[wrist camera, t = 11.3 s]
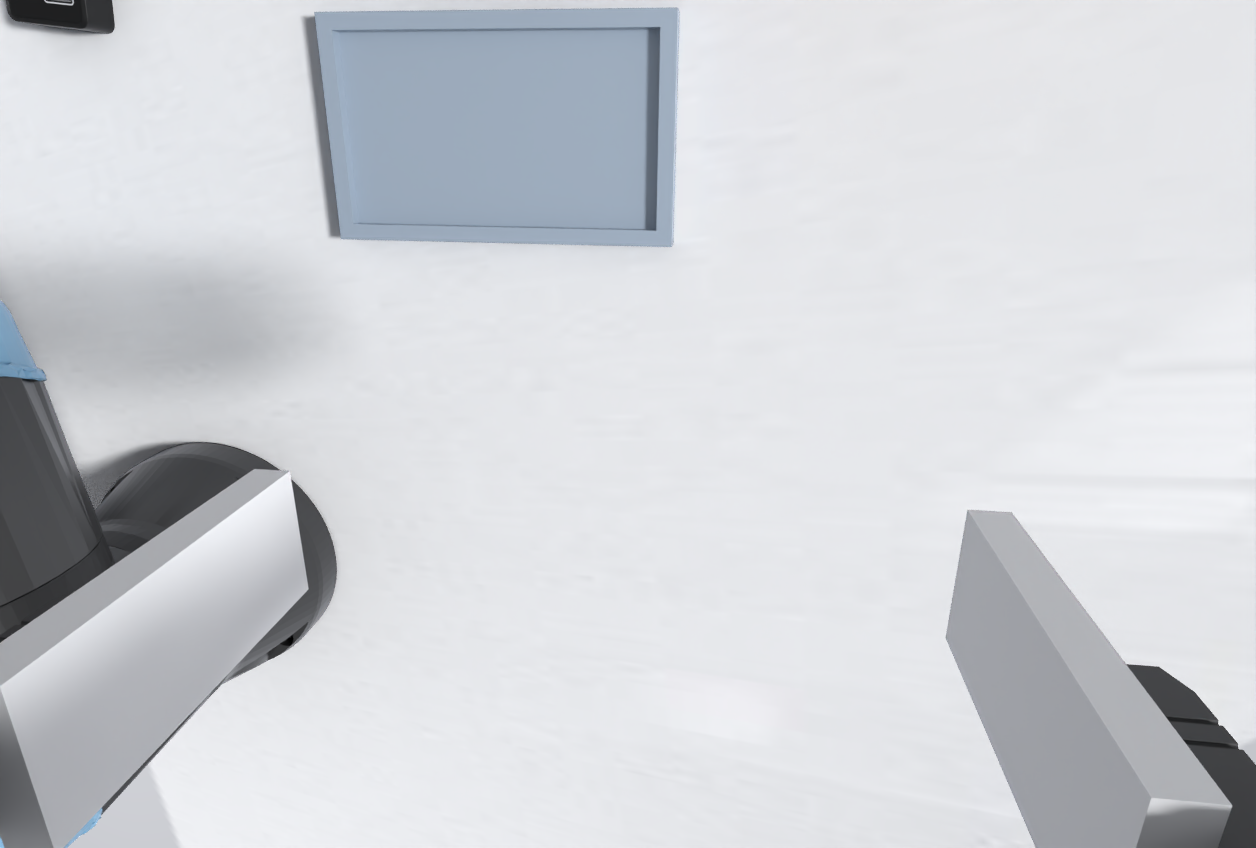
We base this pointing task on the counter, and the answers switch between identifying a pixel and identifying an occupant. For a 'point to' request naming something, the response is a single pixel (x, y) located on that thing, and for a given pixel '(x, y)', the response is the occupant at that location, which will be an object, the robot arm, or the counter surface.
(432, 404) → the counter surface
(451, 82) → the tray
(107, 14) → the multiport hub
